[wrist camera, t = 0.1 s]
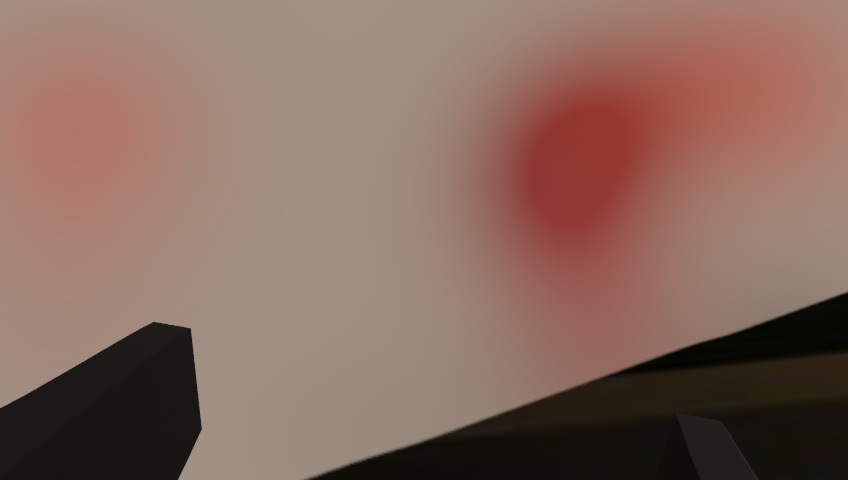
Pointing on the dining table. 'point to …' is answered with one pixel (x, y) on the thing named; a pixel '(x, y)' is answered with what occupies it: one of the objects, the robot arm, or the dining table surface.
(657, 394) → the dining table surface
